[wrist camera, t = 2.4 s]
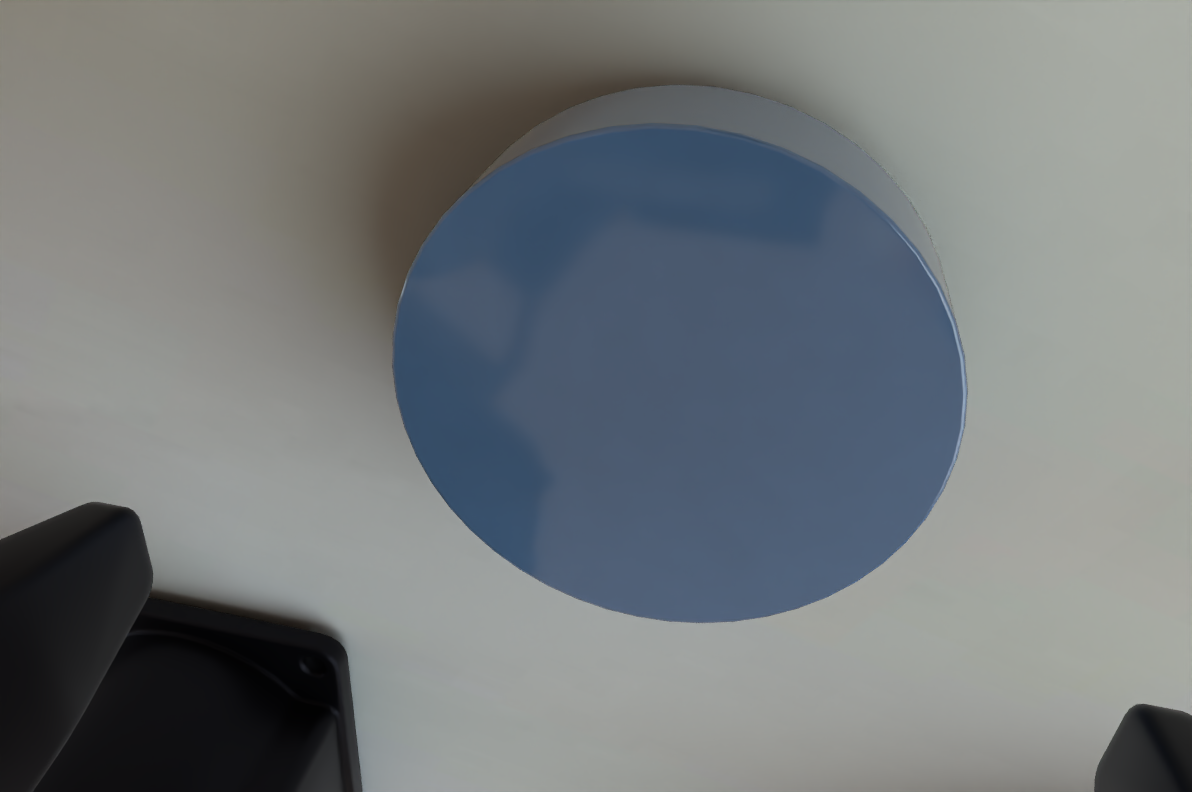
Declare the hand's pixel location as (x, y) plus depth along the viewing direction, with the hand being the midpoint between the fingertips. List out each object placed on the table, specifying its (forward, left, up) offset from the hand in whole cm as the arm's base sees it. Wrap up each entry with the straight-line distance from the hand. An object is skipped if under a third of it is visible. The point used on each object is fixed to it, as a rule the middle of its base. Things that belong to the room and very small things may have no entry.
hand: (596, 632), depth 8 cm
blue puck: (0, 0, -6) cm, 6 cm away
